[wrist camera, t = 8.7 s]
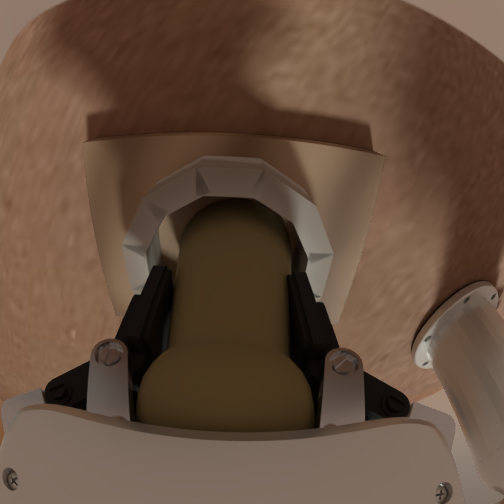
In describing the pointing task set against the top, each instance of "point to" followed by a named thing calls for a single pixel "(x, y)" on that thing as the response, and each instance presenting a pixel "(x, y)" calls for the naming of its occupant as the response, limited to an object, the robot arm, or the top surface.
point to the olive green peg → (229, 330)
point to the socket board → (229, 188)
